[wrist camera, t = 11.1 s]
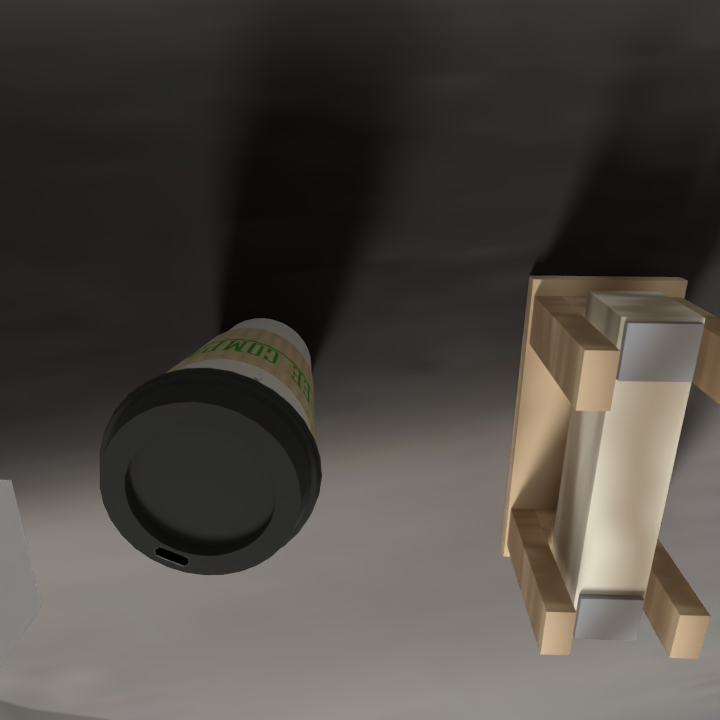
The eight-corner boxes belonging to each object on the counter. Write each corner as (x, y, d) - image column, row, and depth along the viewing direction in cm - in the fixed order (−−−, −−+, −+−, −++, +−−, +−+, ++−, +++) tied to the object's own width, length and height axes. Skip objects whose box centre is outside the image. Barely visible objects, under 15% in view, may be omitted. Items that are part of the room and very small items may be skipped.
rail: (547, 578, 41) (570, 641, 36) (588, 290, 34) (624, 319, 29) (606, 579, 41) (638, 643, 36) (660, 291, 34) (709, 320, 29)
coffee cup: (365, 330, 38) (357, 447, 24) (302, 453, 42) (264, 617, 28) (220, 263, 37) (124, 345, 23) (167, 394, 40) (55, 536, 26)
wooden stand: (500, 547, 44) (535, 667, 34) (529, 275, 37) (584, 329, 27) (626, 550, 44) (697, 672, 34) (679, 277, 37) (790, 331, 27)
